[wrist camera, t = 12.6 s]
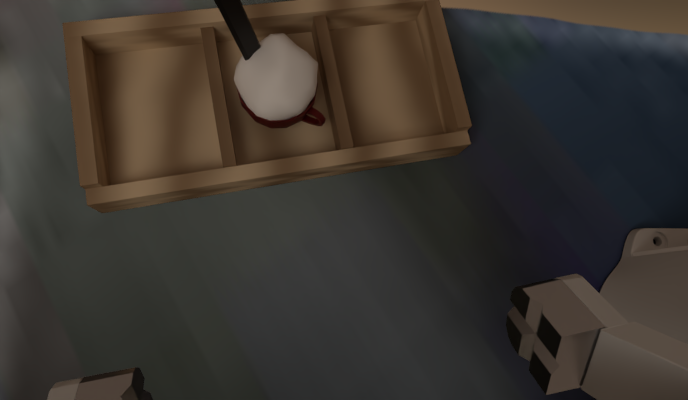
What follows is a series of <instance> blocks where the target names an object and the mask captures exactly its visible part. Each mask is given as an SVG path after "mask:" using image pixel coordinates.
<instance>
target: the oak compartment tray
mask: <svg viewBox="0 0 688 400" xmlns="http://www.w3.org/2000/svg"><path fill="white" fill-rule="evenodd" d="M243 8H244V10H245V12H246V14H247V16H248V19H249V21H250V23H251V25H252V28H253V30H254V32H255V34H256V36H257V39H258V41H259V42H260V41H262V40H263V39H264V38H266V37H267V36H269V35H270V34H279V33H284V34H285V35H286V36H287V37H289V38H290V39H291V40H292V41H293V42H294V43H295V44H296V45H297V46H298V47H300V48H301V49H303V50H304V51H306V52H307V53H308V54H309V55H310V56H311V57H312V58H313V59H314V60H315V61H317V62H318V71H317V83H318V86H317V92H316V97H315V102H314V105H313V106H312V107H313V108H315V109H316V110H318V111H319V112H321V113H322V114H323V115H324V117H325V123H324V124H323V125H322V126H315V125H311V124H308V123H306V122H303V121H300V122H298V123H296V124H294V125H292V126H290V127H287V128H269V127H266V126H264V125H262V124H259V123H257V122H256V121H254V119H253V118H252V117H251V116H250V115H249V114H248V113H247V112H246V111H245V109H244V108H243V107H242V105H241V102H240V98H239V95H238V91H237V87H236V84H235V82H234V75H235V70H236V65H237V64H238V62H239V60H240V58H241V57H242V53H241V51H240V49H239V48H238V46H237V44H236V42H235V40H234V38H233V36H232V34H231V32H230V30H229V28H228V26H227V24H226V22H225V20H224V18H223V16H222V14H221V12H220V11H219V9H218V8H212V9H202V10H192V11H181V12H171V13H161V14H151V15H140V16H130V17H120V18H109V19H99V20H89V21H79V22H68V23H63V33H64V42H65V51H66V60H67V69H68V79H69V88H70V97H71V106H72V116H73V125H74V134H75V143H76V153H77V162H78V171H79V180H80V186H81V187H83V188H84V189H85V190H86V199H87V205H88V206H90V207H91V208H93V209H95V210H97V211H99V212H101V213H106V212H113V211H119V210H125V209H131V208H137V207H143V206H149V205H155V204H161V203H168V202H174V201H180V200H186V199H192V198H198V197H204V196H210V195H216V194H223V193H229V192H235V191H241V190H247V189H253V188H259V187H265V186H271V185H277V184H284V183H290V182H296V181H302V180H308V179H314V178H320V177H326V176H332V175H339V174H345V173H351V172H357V171H363V170H369V169H375V168H381V167H387V166H394V165H400V164H406V163H412V162H418V161H424V160H430V159H436V158H442V157H449V156H455V155H458V154H459V153H460V152H461V151H463V150H464V149H465V148H466V147H468V146H469V145H470V144H471V142H470V139H469V135H468V131H467V130H468V129H469V128H470V127H472V124H471V120H470V116H469V112H468V109H467V105H466V101H465V97H464V93H463V90H462V86H461V82H460V78H459V74H458V70H457V67H456V63H455V59H454V55H453V51H452V48H451V44H450V40H449V36H448V32H447V28H446V25H445V21H444V17H443V13H442V9H441V6H440V2H439V0H295V1H284V2H274V3H264V4H253V5H243ZM307 115H308V116H310V117H312V118H315V117H314V116H312V115H310V114H307ZM315 119H316V118H315Z"/></svg>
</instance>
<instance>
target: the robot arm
mask: <svg viewBox="0 0 688 400" xmlns="http://www.w3.org/2000/svg"><path fill="white" fill-rule="evenodd" d="M653 239H654V240H655V242H656V244H654V243H653ZM510 300H511V302H512V303H513V304H514V307H513V308H512V310H511V311H510V312H509V313H508V314H507V322H506V327H507V333H508V337H509V339H510V342H511V344H512V346H513V347H514V349H515V351H516V352H517V354H518V355H520V356H522V357H524V358H525V359H527V360H529V361H530V364H529V371H530V373H531V374H532V376H533V377H534V378H535V380H536V381H537V383H538V384H539V386H540V387H541V389H542V390H543V391H544V393H545V394H546V395H548V394H552V393H557V392H561V391H566V390H570V389H575V388H579V387H582V388H581V389H582V390H583V391H585V392H586V393H588V394H589V395H591V396H592V397H594V398H595V399H597V400H688V229H679V228H638V229H634V230H632V231H631V232H630V233H629V234H628V236H627V239H626V242H625V245H624V249H623V253H622V258H621V260H620V262H619V263H618V265H617V266H616V268H615V269H614V270H613V271H612V273H611V274H610V275H609V276H608V278H607V279H606V281H605V283H604V284H603V287H602V289H601V291H600V293H598V292H597V291H596V290H595V289H594V288H593V287H592V286H591V285H590V284H589V283H588V282H587V281H586V280H585V279H584V278H583V277H582V276H580V275H578V274H572V275H567V276H563V277H558V278H555V279H548V280H544V281H539V282H535V283H530V284H526V285H521V286H517V287H515V288H514V289H513V291H512V293H511V298H510ZM144 379H145V378H144V376H143V374H142V372H141V370H140V368H138V367H135V368H130V369H124V370H119V371H113V372H108V373H103V374H97V375H92V376H87V377H83V378H78V379H73V380H67V381H62V382H57V383H55V385H54V386H53V387H52V389H51V390H50V392H49V395H48V398H47V400H153V398H152V396H151V393H150V392H148V391H146V390H144V389H143V387H144Z"/></svg>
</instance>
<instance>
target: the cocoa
mask: <svg viewBox="0 0 688 400" xmlns="http://www.w3.org/2000/svg"><path fill="white" fill-rule="evenodd" d="M214 1H215V3H216V5H217V7H218V9H219V11H220V12H221V14H222V16H223V18H224V20H225V22H226V24H227V26H228V28H229V30H230V32H231V34H232V36H233V38H234V40H235V42H236V44H237V46H238V48H239V49H240V51H241V53H242V57H241V58H240V60H239V62H238V64H237V65H236V70H235V75H234V82H235V84H236V87H237V91H238V95H239V98H240V102H241V105H242V107H243V108H244V109H245V111H246V112H247V113H248V114H249V115H250V116H251V117H252V118H253V119H254V121H256V122H257V123H259V124H262V125H264V126H266V127H269V128H287V127H290V126H292V125H294V124H296V123H298V122H300V121H303V122H306V123H308V124H311V125H315V126H322V125H323V124H324V123H325V117H324V115H323V114H322V113H321V112H319V111H318V110H316V109H315V108H313V107H312V106H313V105H314V102H315V97H316V92H317V86H318V83H317V71H318V62H317V61H315V60H314V59H313V58H312V57H311V56H310V55H309V54H308V53H307V52H306V51H304V50H303V49H301V48H300V47H298V46H297V45H296V44H295V43H294V42H293V41H292V40H291V39H290V38H289V37H287V36H286V35H285V34H284V33H279V34H270V35H269V36H267V37H266V38H264V39H263V40H262V41H260V42H259V41H258V39H257V36H256V34H255V32H254V30H253V28H252V25H251V23H250V21H249V19H248V16H247V14H246V12H245V10H244V8H243V5H242V3H241V1H240V0H214ZM307 114H310V115H312V116H314V117H315V118H316V119H315V118H312V117H310V116H308V115H307Z"/></svg>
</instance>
